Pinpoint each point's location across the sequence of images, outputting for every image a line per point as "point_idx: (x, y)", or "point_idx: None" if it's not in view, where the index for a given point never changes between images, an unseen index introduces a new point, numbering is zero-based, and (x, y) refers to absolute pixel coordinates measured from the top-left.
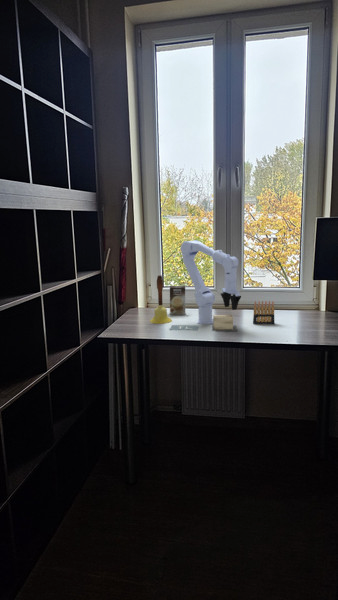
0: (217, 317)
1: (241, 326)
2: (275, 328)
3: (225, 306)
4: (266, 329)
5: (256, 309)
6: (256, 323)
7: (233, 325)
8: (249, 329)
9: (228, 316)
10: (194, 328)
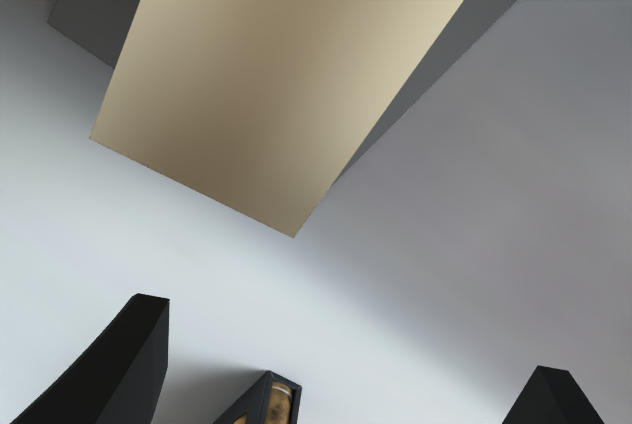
0: None
1: (261, 232)
2: (20, 392)
3: (539, 377)
4: (12, 325)
5: None
6: (250, 393)
7: (339, 177)
8: (82, 210)
9: (188, 102)
10: None
